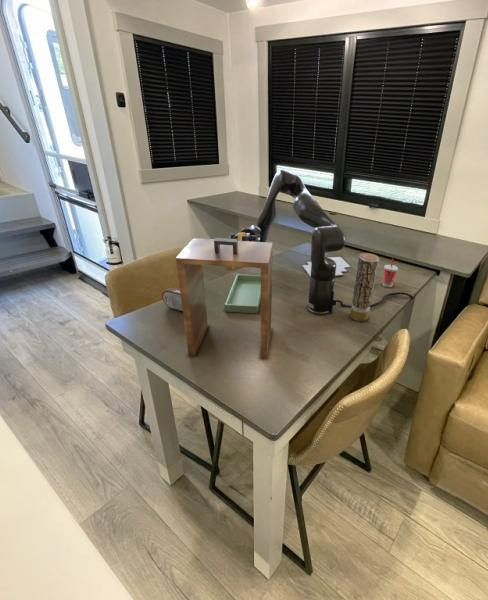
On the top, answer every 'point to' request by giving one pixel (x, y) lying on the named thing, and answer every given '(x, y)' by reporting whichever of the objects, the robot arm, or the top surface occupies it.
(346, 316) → the top surface
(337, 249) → the robot arm
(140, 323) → the top surface
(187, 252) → the shelf stand
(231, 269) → the rod
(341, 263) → the paper stack
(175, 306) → the tin
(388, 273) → the beverage cup
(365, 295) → the bark covered firewood piece
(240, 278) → the tray
